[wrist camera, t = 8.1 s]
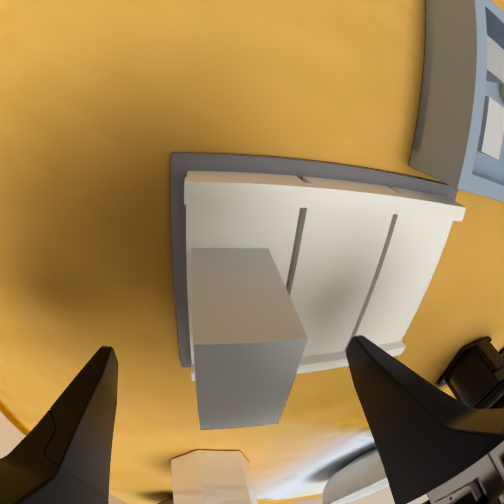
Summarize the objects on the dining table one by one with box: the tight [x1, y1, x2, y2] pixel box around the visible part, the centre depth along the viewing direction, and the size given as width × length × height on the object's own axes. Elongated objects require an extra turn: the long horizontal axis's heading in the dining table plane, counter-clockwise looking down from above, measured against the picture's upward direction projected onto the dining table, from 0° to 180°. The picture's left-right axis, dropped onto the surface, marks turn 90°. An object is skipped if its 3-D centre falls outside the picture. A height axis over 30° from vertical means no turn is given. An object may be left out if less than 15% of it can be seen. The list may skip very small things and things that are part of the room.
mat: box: [171, 152, 458, 367], centre depth 15 cm, size 12×15×1 cm
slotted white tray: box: [184, 171, 466, 430], centre depth 12 cm, size 11×14×6 cm
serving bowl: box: [323, 448, 389, 504], centre depth 35 cm, size 21×21×7 cm
